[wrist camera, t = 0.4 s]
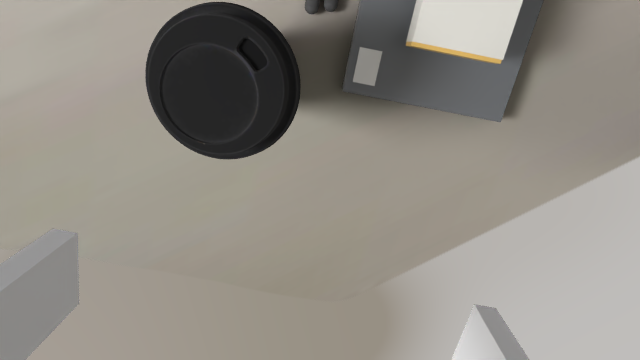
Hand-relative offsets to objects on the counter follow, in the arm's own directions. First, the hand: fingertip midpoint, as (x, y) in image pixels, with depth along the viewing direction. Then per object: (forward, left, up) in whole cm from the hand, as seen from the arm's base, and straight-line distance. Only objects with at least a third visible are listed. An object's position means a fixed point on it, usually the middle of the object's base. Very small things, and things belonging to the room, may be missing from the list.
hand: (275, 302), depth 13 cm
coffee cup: (-5, -6, -27) cm, 28 cm away
